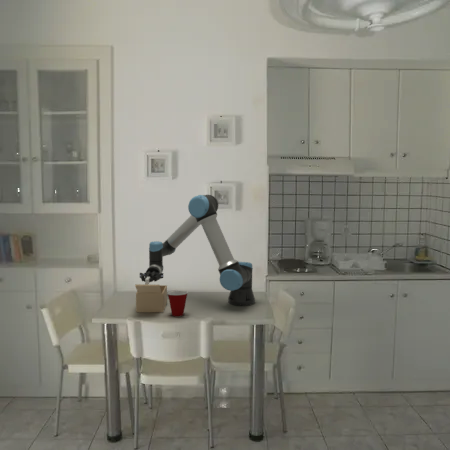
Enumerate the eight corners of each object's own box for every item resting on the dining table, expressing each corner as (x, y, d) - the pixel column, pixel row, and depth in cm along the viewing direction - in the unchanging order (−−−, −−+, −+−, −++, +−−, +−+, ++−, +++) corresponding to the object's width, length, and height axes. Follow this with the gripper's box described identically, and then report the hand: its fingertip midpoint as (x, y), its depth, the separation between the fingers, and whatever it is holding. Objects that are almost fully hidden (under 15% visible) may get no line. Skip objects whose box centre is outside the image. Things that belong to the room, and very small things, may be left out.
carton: (166, 303, 259) (166, 285, 258) (163, 312, 241) (163, 293, 240) (141, 302, 259) (141, 285, 258) (136, 312, 241) (136, 293, 240)
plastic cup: (183, 310, 245) (183, 288, 243) (191, 316, 235) (191, 292, 234) (163, 313, 239) (163, 290, 238) (171, 319, 230) (171, 295, 229)
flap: (161, 291, 241) (159, 284, 232) (161, 292, 240) (159, 285, 232) (138, 291, 240) (135, 284, 232) (137, 292, 240) (135, 285, 231)
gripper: (165, 279, 256) (159, 289, 233) (141, 279, 256) (133, 289, 233) (165, 266, 255) (159, 274, 232) (141, 265, 255) (133, 274, 232)
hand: (146, 282), depth 232 cm, fingers closed
